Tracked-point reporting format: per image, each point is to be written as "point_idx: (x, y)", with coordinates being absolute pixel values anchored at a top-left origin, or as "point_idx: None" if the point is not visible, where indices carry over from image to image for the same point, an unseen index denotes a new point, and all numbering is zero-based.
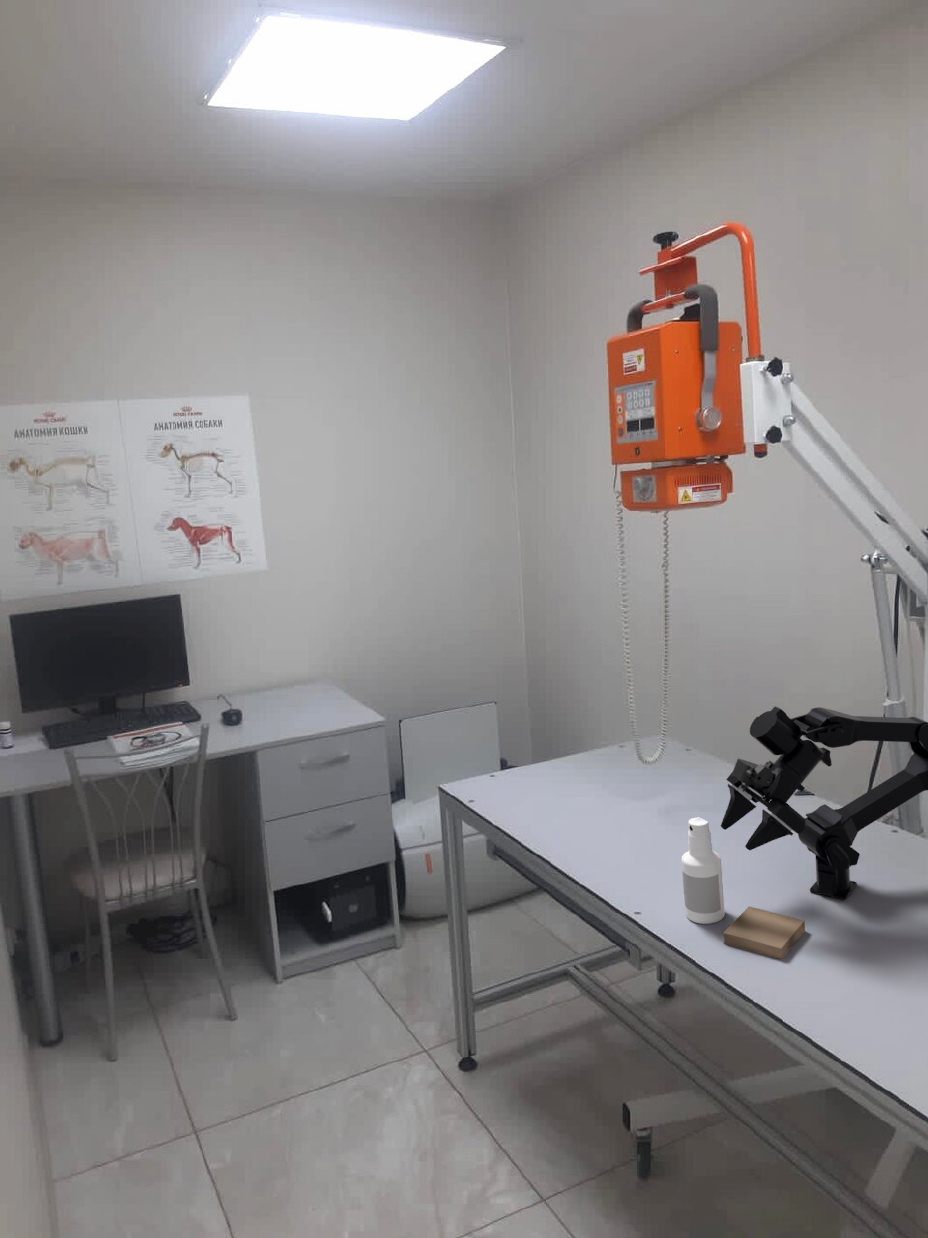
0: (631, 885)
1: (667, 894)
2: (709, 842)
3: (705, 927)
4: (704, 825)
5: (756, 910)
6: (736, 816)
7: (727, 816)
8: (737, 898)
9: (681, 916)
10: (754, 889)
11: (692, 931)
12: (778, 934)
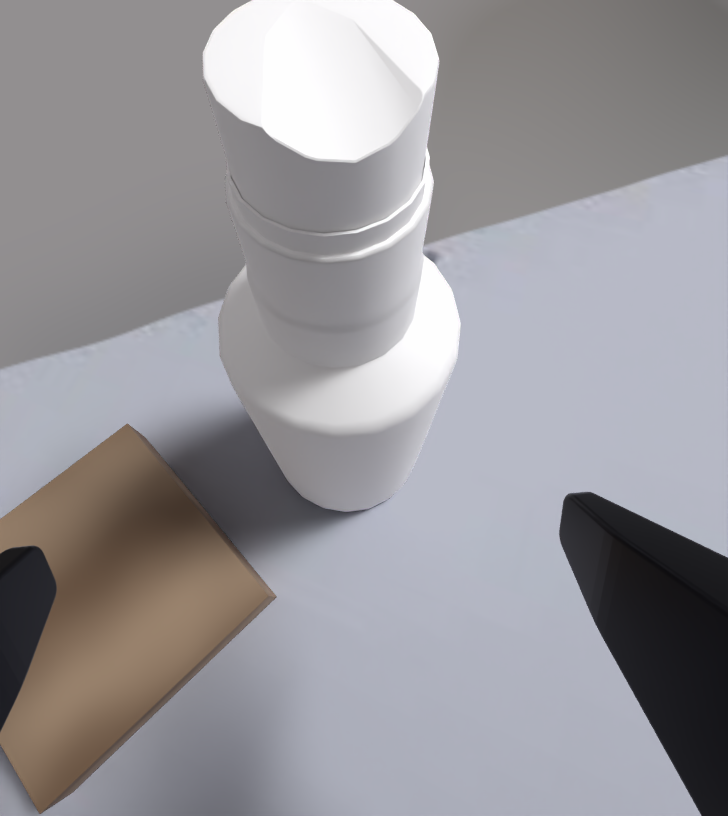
0: (613, 286)
1: (527, 371)
2: (258, 279)
3: None
4: (205, 86)
5: (223, 615)
6: (689, 721)
7: (652, 566)
8: (434, 609)
9: None
10: (493, 721)
11: None
12: None
